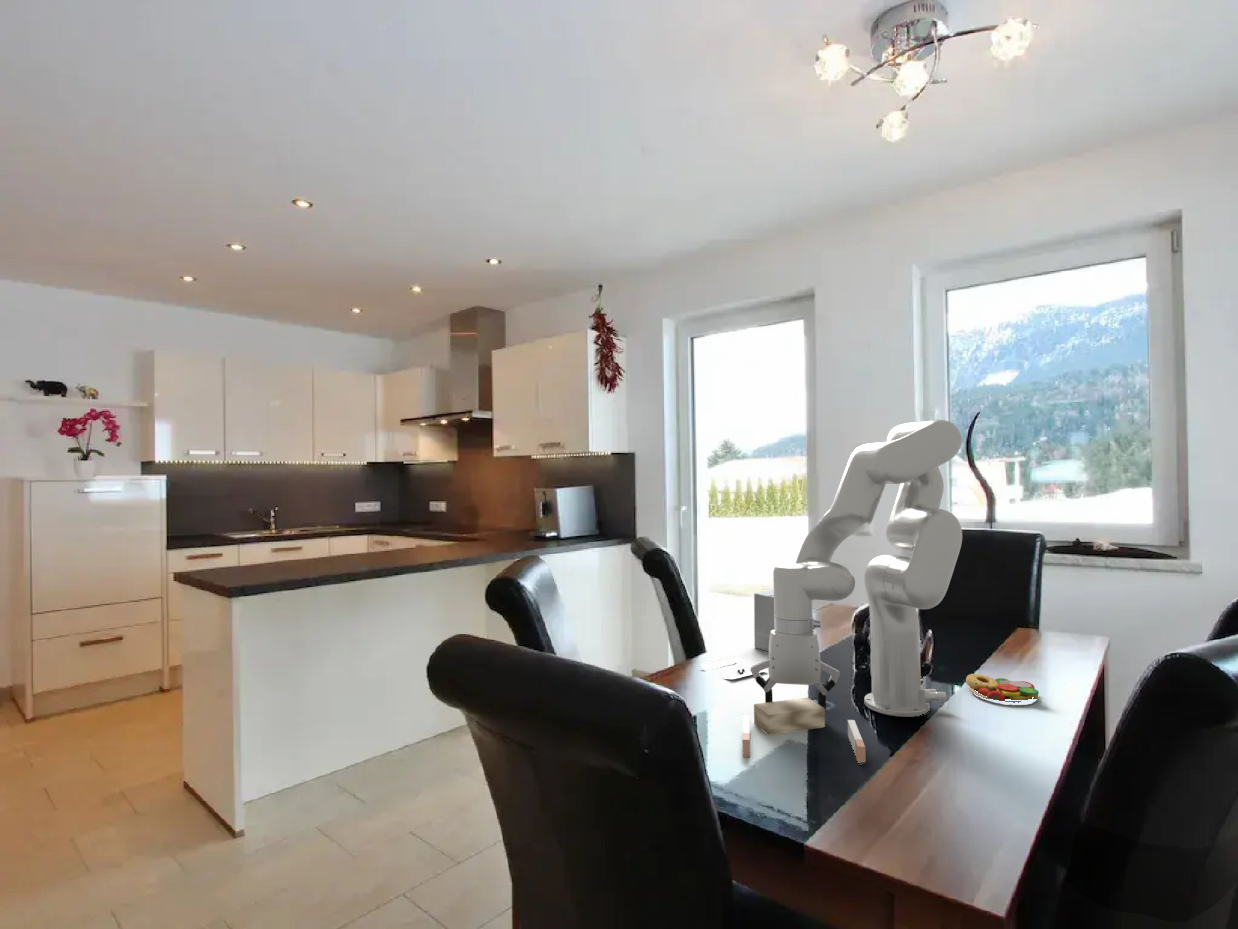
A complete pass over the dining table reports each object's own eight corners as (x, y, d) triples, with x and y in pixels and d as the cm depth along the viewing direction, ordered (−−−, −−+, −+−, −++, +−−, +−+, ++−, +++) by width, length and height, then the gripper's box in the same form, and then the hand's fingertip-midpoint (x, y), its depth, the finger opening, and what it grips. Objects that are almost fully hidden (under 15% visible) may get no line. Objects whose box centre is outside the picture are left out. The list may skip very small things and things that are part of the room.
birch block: (808, 717, 133) (807, 697, 133) (824, 728, 127) (824, 708, 127) (754, 724, 130) (753, 704, 130) (768, 736, 124) (768, 715, 124)
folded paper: (732, 684, 155) (732, 675, 155) (699, 671, 165) (699, 663, 166) (769, 675, 162) (769, 667, 162) (735, 663, 172) (735, 655, 172)
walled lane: (854, 736, 123) (854, 720, 123) (865, 764, 111) (865, 746, 111) (743, 730, 127) (743, 714, 127) (742, 756, 115) (742, 739, 115)
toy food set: (961, 686, 150) (961, 671, 150) (1025, 688, 148) (1025, 674, 148) (981, 706, 137) (980, 691, 137) (1051, 710, 134) (1051, 694, 134)
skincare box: (770, 642, 190) (768, 587, 190) (791, 647, 184) (790, 590, 185) (752, 648, 184) (751, 591, 184) (774, 653, 179) (772, 595, 179)
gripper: (836, 623, 134) (838, 707, 134) (749, 620, 137) (751, 702, 137) (840, 632, 126) (842, 721, 126) (749, 629, 130) (751, 715, 130)
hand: (795, 711), depth 132 cm, fingers open, 9 cm apart
